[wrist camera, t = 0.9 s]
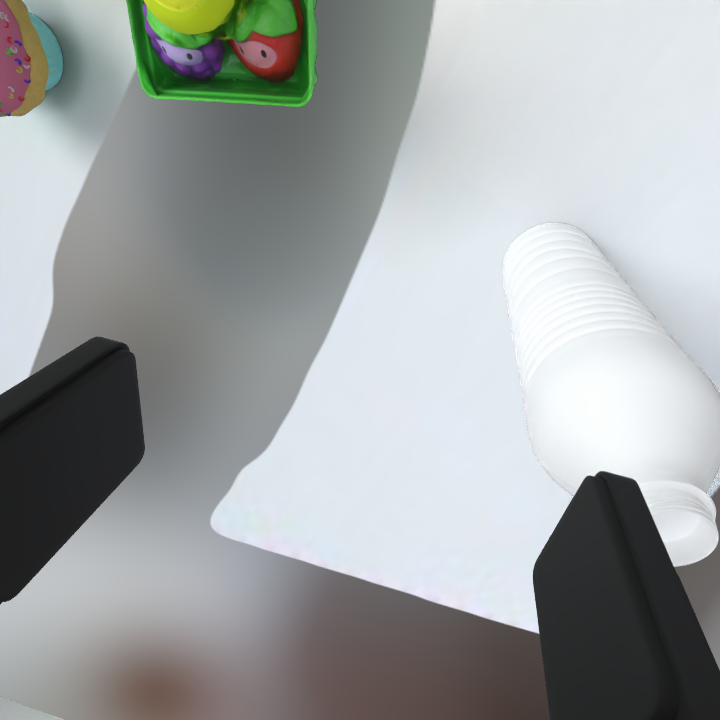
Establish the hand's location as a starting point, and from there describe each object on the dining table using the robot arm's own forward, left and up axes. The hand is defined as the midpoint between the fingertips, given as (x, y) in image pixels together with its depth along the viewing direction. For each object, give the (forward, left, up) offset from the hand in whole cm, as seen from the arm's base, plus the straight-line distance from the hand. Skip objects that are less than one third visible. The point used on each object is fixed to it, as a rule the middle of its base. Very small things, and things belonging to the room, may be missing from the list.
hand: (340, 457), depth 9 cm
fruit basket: (-8, -15, -28) cm, 33 cm away
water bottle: (+4, +9, -28) cm, 30 cm away
